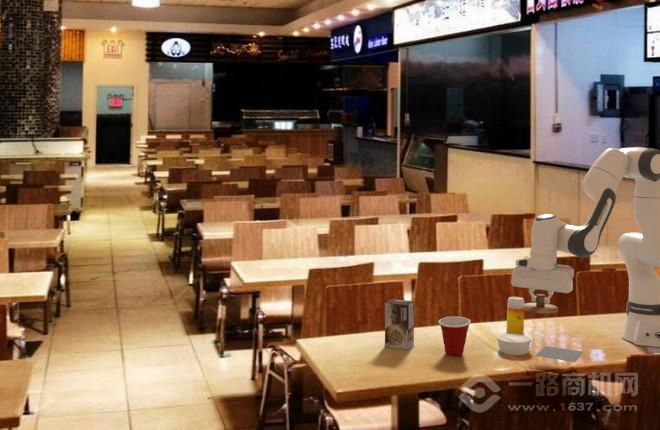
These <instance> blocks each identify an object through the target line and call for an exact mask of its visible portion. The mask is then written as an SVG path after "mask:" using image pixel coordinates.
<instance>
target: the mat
mask: <svg viewBox="0 0 660 430" xmlns="http://www.w3.org/2000/svg"><path fill="white" fill-rule="evenodd" d="M583 353H584V351H583V350H582V351H581V350H576V349H575V350H574V349H570V348H562V347H561V348H560V347H555V346H548V345H545V346H544V347H542V349H541V350H540V351H539V352H537V353H536V355H535V356H536V357H542V358H549V359H555V360H561V361H566V362H573V363H575V362H576V361H577V360H578V358H580V357H581V355H582V354H583Z"/></svg>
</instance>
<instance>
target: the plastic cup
mask: <svg viewBox="0 0 660 430" xmlns="http://www.w3.org/2000/svg"><path fill="white" fill-rule="evenodd" d="M438 324H439V325H440V329H441V333H442V341H443V345H444V346H443V347H444V352H445V355H446V356H450V357H462V356H463V353H464V350H465V345H466V341H467V336H468V331H469V327H470V324H471V319H470V318H467V317H463V316H446V317H443V318H441V319H439V320H438Z"/></svg>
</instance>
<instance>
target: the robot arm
mask: <svg viewBox="0 0 660 430" xmlns="http://www.w3.org/2000/svg"><path fill="white" fill-rule="evenodd" d="M623 178H626V179H633V180H634V181H635V186H634V196H633V213H632V214H633V215H632V216H633V219H634V220H635V222H636V223H637V224H638V226H639V228H640V231H641V232H638V231H635V232H634V231H633V232H626V233H623V234H622V235H621V236H620V237H619V238H618V240H617V244H616V250H617V253H618V254H619V255H620V257H621V258H622V259H623V262H624V264H625V267H626V271H627V274H628V300H627V302H626V310H625V311H626V312H625V313H626V320H625V326H624V329H623V333H622V334H621V338H622V339H623V340H625V341H627V342H631V343H632V344H634V345H637V346H644V347H655V348H660V277H659V276H658V275H657V272H656V270H655V268H660V150H658V149H655V148H652V147H650V148H649V147H648V148H647V147H642V146H641V147H640V146H635V147H617V148H615V147H611V148H607V149H605V150H604V151H603V152H602V153H601V154H600V155H599V156H598V158H597V159H596V160H595V161H594V162H593V164H592V165H591V166H590V168H589V170H588V171H587V173H586V174H585V176H584V178H583V180H582V188H583V189H582V190H583V192H584V193H585V195H586V196H587V197H588V198H589V199H590V200H591V201H593V206H592V210H591V212H590V214H589V216H588V217H587V220H586V221H585V223H584V224H583V225H580V226H579V225H572V224H570V223H569V224H568V223H566V222H564V221H562V220H561V219H559V218H558V216H557V215H556V214H551V213H549V214H548V213H545V214H540V215H538V216H536V217H534V219H533V221H532V226H531V230H530V231H531V232H530V243H531V247H530V251H529V255H528V256H523V257H519V258H518V259H516V260H515V267H514V268H513V270H512V272H511V280H510V283H511V285H512V287H516V288H525V289H528V292H529V294H530V296H531V303H536V300H537V295H536V294H535V293H534V292H535V290H540V291H547V294H548V295H547V297H546V296H545V298H544V303H545V304H550V299H551V297H552V296H553V295H554V293H555V292H556V293H563V294H570V293H571V292H572V291H573V289H574V286H573V284H574V283H573V282H574V281H573V278H574V275H575V270H574V268H573V267H572V266H570V265H568V264H560V263H557V260H558V259H557V258H558V252H562V253H566V254H570V255H573V256H575V257H578V258H581V259H587V258H589V257H591V256H593V254H595V252H596V251H597V249H598V247H599V244H600V240H601V236H602V233H603V231H604V229H605V226H606V225H607V223H608V220H609V218H610V216H611V214H612V212H613V208H614V206H615V204H616V199H617V196H616V191H617V188H618V187H619V185H620V183H621V182H622V179H623Z"/></svg>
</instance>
